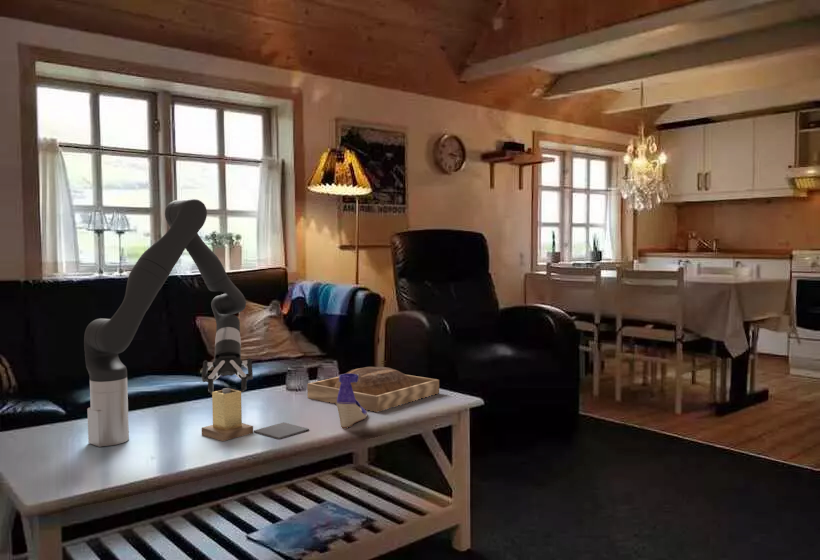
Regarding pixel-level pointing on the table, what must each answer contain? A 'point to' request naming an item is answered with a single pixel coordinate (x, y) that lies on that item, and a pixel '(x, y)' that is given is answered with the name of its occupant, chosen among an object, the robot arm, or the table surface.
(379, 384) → the bread
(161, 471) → the table surface
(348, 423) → the purple wedge sandal
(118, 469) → the table surface
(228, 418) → the sleeve
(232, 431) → the peg stand
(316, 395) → the bread tray
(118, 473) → the table surface
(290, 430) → the mat
